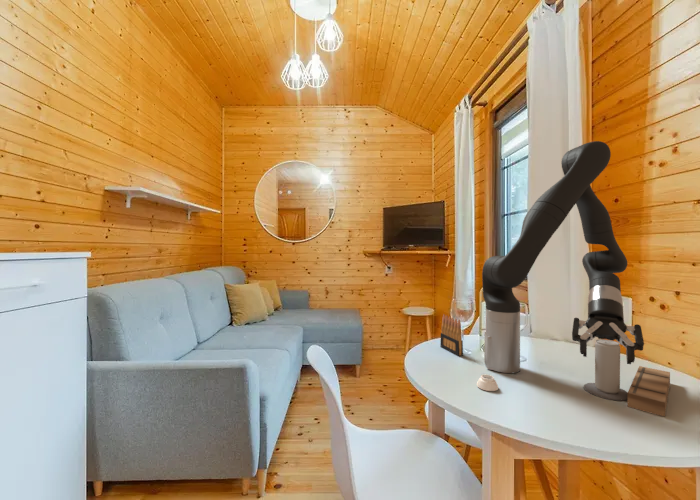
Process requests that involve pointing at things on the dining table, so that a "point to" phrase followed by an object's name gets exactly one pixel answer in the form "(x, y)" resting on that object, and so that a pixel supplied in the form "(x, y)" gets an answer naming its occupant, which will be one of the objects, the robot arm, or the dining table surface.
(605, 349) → the beverage can
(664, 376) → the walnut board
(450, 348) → the ammunition clip
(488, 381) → the small beige bowl
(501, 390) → the dining table surface
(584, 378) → the dining table surface
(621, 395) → the end pad
